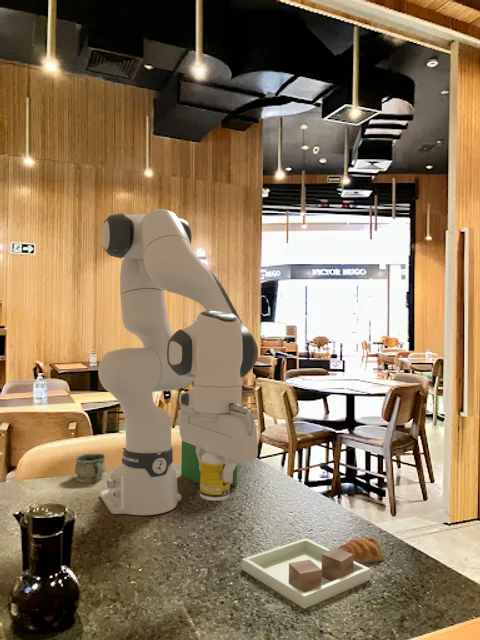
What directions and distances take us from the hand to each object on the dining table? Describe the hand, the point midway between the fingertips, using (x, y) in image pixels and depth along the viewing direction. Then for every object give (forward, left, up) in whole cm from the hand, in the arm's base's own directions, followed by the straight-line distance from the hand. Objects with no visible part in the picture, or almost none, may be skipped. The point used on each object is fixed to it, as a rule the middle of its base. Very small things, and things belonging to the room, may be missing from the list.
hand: (215, 476), depth 94 cm
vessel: (-68, +3, -18) cm, 70 cm away
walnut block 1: (+15, +8, -17) cm, 24 cm away
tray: (+11, +12, -17) cm, 24 cm away
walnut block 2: (+15, +16, -17) cm, 28 cm away
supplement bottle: (0, 0, -4) cm, 4 cm away
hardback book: (-47, +30, -18) cm, 58 cm away
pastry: (+12, +26, -18) cm, 34 cm away
